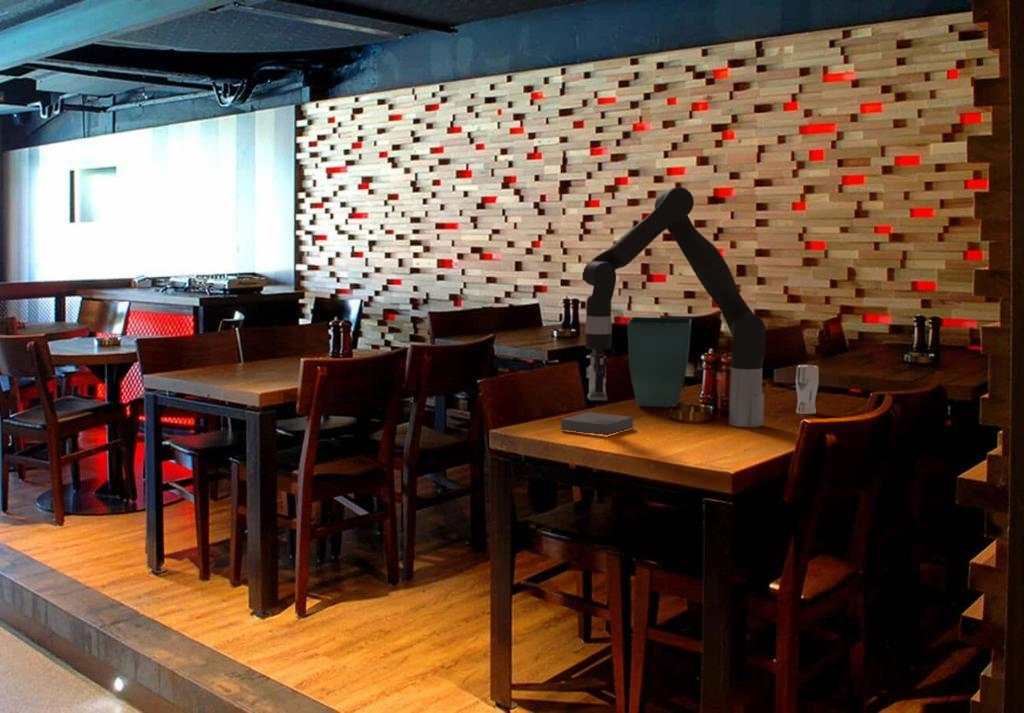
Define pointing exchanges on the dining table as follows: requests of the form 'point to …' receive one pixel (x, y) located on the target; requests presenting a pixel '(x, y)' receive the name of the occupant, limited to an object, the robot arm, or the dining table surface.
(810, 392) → the beer glass
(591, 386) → the salt shaker
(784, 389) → the dining table surface
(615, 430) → the slate block
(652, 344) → the flower pot
